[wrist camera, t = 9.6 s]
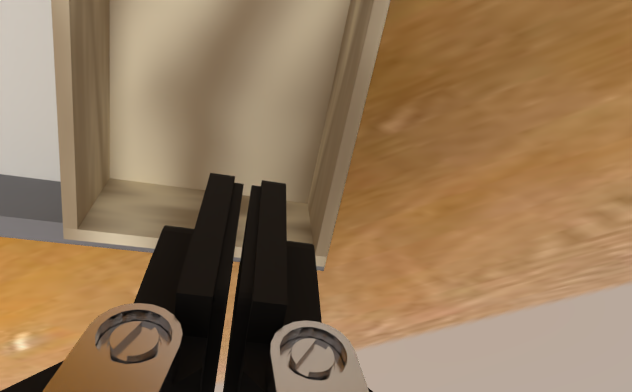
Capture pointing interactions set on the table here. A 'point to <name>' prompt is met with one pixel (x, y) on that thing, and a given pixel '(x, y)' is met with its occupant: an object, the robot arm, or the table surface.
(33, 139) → the bay
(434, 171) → the table surface
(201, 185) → the crate
